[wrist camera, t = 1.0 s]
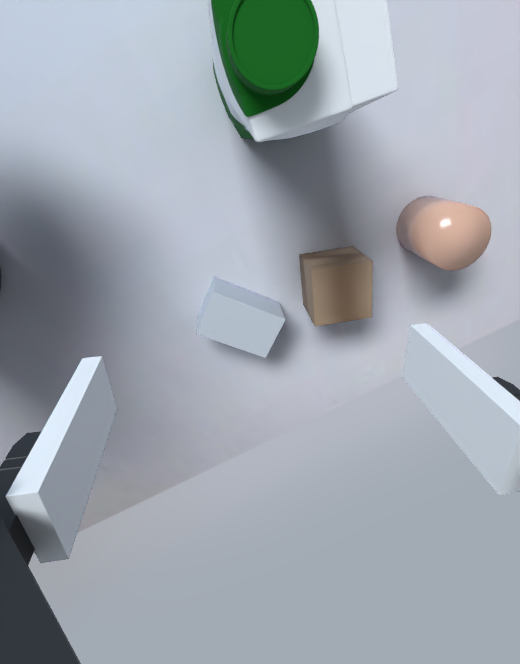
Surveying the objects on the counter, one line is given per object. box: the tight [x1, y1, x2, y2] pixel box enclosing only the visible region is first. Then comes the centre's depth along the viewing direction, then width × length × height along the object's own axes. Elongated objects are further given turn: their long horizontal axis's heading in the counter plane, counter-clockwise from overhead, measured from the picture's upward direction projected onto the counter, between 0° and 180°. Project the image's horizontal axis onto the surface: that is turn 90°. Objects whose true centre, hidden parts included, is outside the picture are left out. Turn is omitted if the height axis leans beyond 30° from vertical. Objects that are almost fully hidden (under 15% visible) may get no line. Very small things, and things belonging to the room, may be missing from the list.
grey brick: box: [196, 277, 286, 358], centre depth 41 cm, size 8×5×5 cm, turn 66°
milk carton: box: [207, 0, 398, 142], centre depth 25 cm, size 9×9×20 cm
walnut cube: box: [299, 246, 373, 326], centre depth 40 cm, size 6×6×6 cm
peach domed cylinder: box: [396, 196, 491, 271], centre depth 38 cm, size 6×6×7 cm
